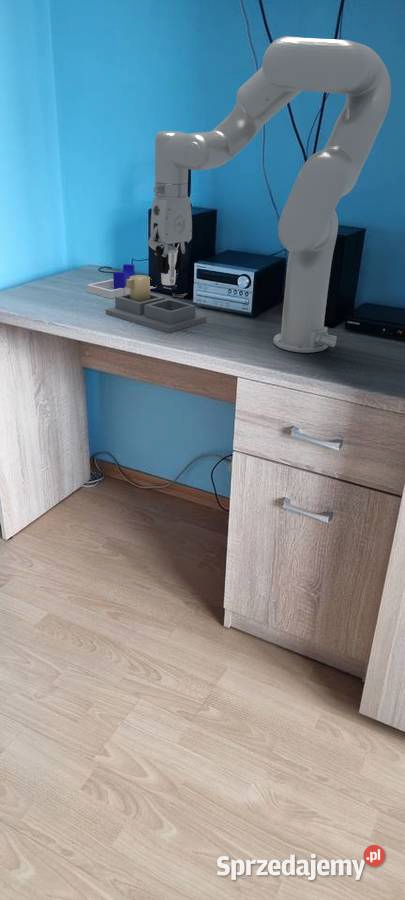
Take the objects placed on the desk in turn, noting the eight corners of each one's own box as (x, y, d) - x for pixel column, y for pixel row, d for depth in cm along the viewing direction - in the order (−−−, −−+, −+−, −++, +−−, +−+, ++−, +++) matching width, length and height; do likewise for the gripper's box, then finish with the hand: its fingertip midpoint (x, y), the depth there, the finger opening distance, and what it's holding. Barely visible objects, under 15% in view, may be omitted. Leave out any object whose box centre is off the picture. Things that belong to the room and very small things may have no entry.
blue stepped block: (120, 284, 198) (119, 263, 195) (134, 285, 197) (134, 264, 195) (108, 293, 187) (108, 272, 185) (124, 294, 187) (123, 273, 184)
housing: (206, 321, 168) (207, 284, 163) (168, 333, 158) (168, 294, 154) (144, 303, 180) (144, 269, 176) (105, 313, 170) (104, 277, 166)
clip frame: (156, 287, 196) (156, 280, 195) (110, 298, 184) (110, 291, 183) (132, 281, 201) (132, 274, 201) (87, 291, 189) (86, 284, 188)
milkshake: (172, 287, 159) (172, 245, 154) (155, 283, 162) (155, 241, 157) (183, 284, 162) (184, 242, 157) (167, 280, 165) (167, 239, 160)
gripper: (157, 195, 144) (156, 279, 153) (207, 190, 156) (204, 269, 164) (133, 191, 148) (133, 273, 157) (183, 186, 160) (181, 263, 168)
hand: (169, 270), depth 160 cm, fingers closed on milkshake, 4 cm apart
